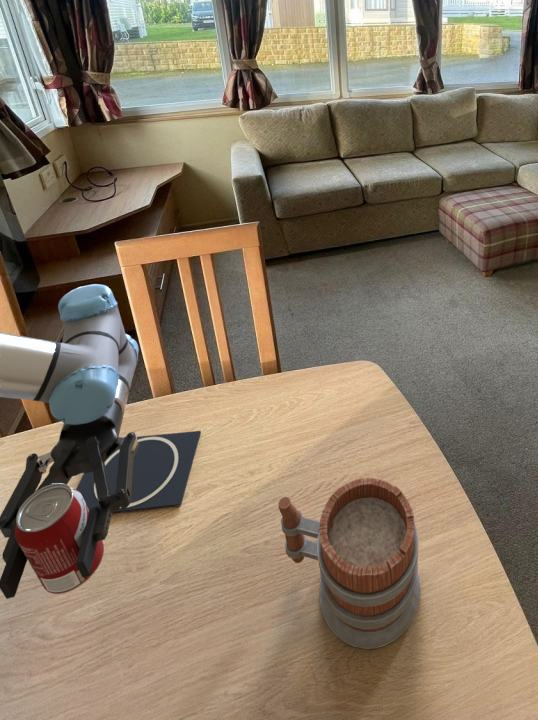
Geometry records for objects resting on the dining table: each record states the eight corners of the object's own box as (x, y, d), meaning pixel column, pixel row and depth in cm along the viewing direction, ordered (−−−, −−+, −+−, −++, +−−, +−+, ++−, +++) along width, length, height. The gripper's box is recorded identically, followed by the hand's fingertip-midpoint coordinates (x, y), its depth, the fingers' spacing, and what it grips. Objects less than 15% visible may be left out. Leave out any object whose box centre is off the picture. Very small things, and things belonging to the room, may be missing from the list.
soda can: (86, 598, 57) (55, 537, 52) (30, 596, 57) (-7, 536, 52) (116, 538, 63) (90, 478, 58) (65, 537, 64) (36, 477, 58)
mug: (408, 667, 59) (409, 601, 53) (266, 619, 64) (251, 553, 57) (428, 548, 72) (431, 483, 65) (308, 515, 76) (300, 451, 70)
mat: (63, 518, 76) (62, 516, 76) (100, 441, 89) (99, 439, 89) (180, 505, 78) (180, 503, 78) (200, 432, 90) (200, 430, 90)
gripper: (170, 417, 77) (149, 571, 57) (30, 448, 72) (-47, 628, 52) (160, 382, 74) (134, 533, 54) (12, 412, 69) (-76, 589, 49)
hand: (45, 579), depth 53 cm, fingers closed on soda can, 7 cm apart
